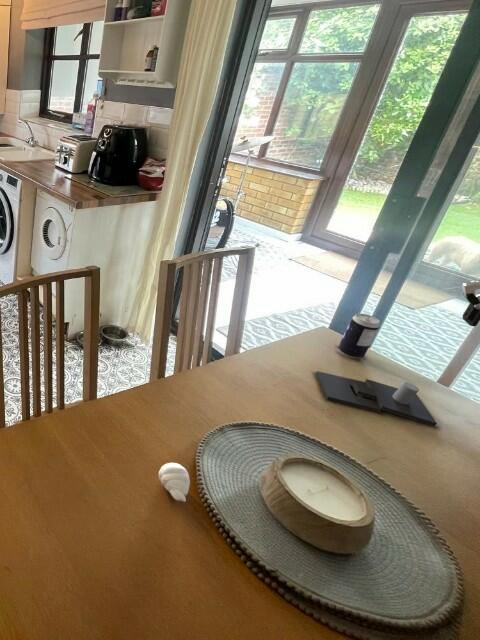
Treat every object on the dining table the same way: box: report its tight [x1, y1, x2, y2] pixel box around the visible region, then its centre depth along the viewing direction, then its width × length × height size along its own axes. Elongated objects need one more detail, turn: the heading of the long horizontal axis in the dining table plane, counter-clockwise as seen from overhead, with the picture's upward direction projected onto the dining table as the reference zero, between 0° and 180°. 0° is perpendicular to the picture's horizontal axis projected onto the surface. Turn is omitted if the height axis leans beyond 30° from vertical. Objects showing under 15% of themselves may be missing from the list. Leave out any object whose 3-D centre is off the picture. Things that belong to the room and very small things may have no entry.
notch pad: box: [315, 370, 381, 413], centre depth 102 cm, size 10×10×1 cm
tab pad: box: [352, 378, 438, 427], centre depth 98 cm, size 14×10×6 cm
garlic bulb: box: [158, 462, 191, 503], centre depth 78 cm, size 6×6×5 cm
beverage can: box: [337, 313, 381, 359], centre depth 113 cm, size 6×6×12 cm
